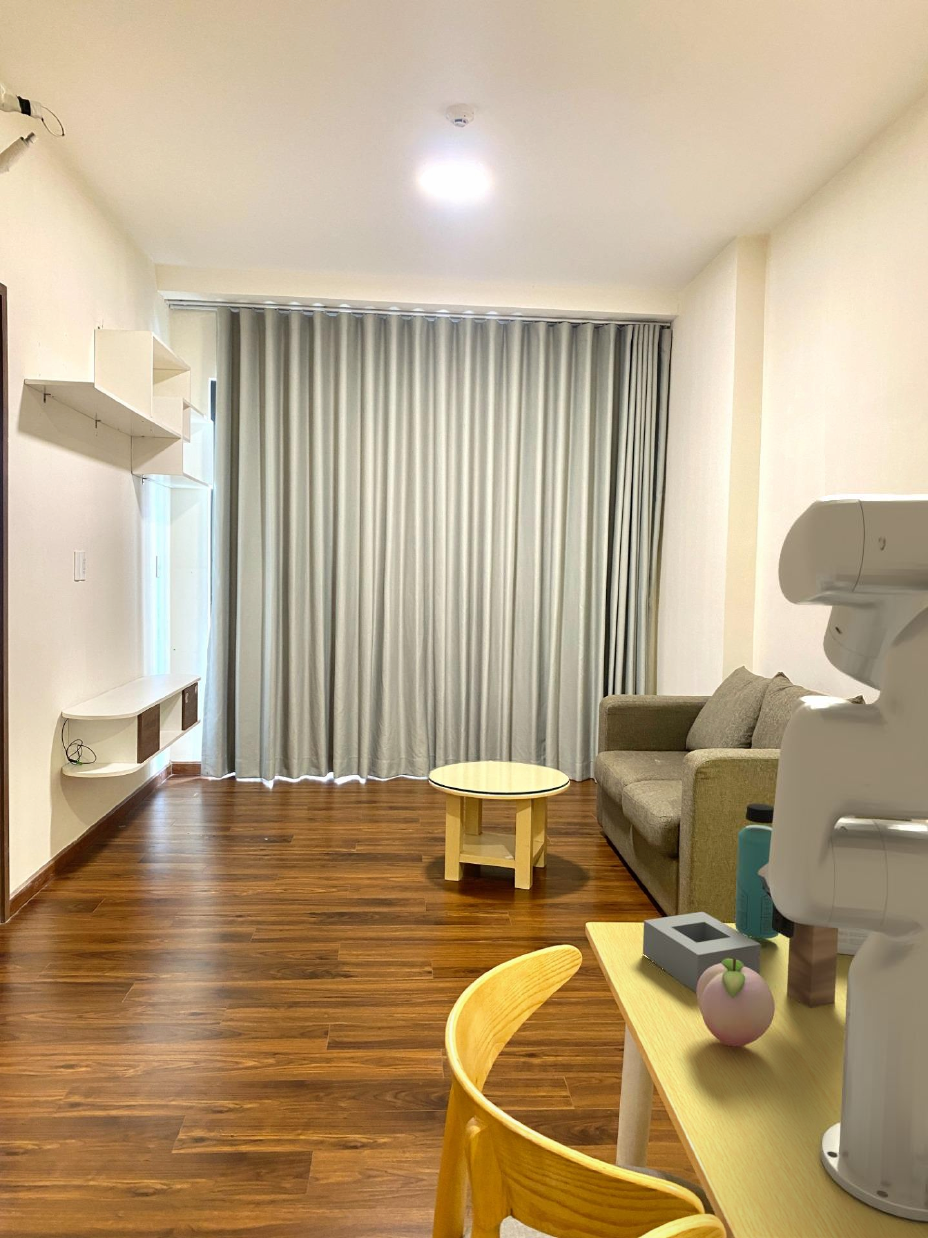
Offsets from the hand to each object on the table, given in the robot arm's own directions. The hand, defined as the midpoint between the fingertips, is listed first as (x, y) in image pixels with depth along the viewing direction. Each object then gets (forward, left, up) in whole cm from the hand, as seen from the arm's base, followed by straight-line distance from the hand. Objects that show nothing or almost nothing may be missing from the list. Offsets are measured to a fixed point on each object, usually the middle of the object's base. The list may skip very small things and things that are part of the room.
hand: (812, 928), depth 114 cm
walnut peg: (-1, 0, -9) cm, 9 cm away
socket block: (+11, +8, -9) cm, 17 cm away
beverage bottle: (+16, -6, -9) cm, 20 cm away
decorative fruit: (-7, +17, -9) cm, 21 cm away
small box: (+10, -16, -9) cm, 21 cm away
